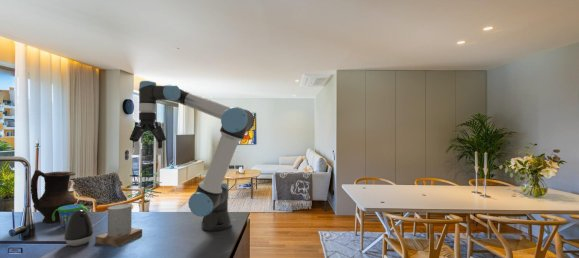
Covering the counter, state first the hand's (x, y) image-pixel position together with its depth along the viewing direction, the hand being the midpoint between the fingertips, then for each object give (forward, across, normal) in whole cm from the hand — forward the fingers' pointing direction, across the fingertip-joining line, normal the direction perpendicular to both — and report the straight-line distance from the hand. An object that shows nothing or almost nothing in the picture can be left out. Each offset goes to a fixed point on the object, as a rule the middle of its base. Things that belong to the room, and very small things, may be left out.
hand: (147, 154), depth 132 cm
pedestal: (+39, +6, +10) cm, 40 cm away
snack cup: (+39, +48, +3) cm, 62 cm away
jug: (+39, +66, 0) cm, 77 cm away
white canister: (+36, +6, +10) cm, 38 cm away
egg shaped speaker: (+39, +19, +19) cm, 47 cm away
